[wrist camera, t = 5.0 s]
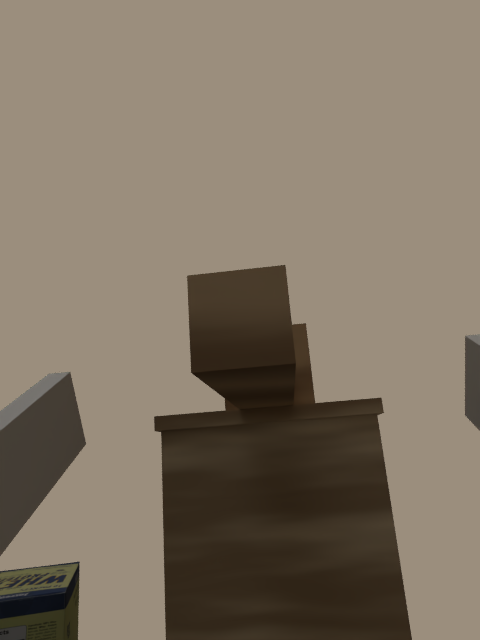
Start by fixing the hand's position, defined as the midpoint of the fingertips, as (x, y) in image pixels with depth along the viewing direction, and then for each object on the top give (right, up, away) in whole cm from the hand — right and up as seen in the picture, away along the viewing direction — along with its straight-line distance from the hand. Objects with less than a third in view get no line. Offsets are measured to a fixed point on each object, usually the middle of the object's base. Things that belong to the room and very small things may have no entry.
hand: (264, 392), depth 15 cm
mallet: (+1, -2, +9) cm, 10 cm away
